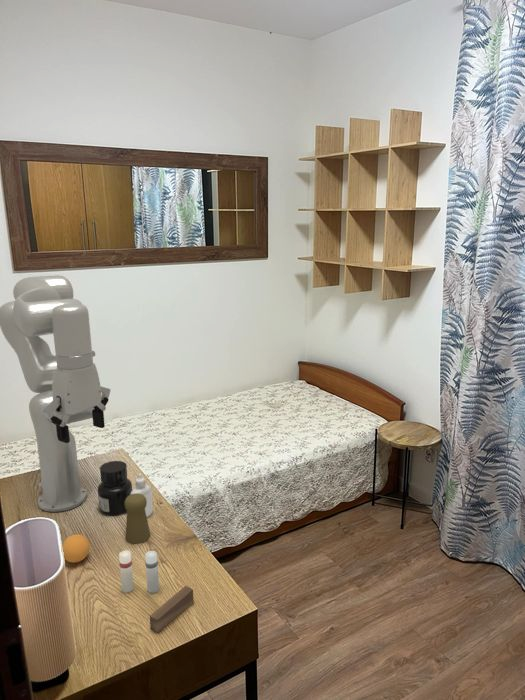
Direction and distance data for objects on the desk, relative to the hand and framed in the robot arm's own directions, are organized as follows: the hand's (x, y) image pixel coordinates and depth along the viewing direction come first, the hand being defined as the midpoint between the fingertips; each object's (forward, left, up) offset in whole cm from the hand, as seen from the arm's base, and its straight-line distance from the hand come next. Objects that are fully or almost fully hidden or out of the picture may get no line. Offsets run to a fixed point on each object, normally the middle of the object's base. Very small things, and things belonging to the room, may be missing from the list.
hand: (82, 433), depth 118 cm
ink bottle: (-8, +14, -29) cm, 33 cm away
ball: (+2, -6, -25) cm, 26 cm away
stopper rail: (+32, -6, -28) cm, 43 cm away
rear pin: (+24, -3, -28) cm, 37 cm away
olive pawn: (+7, +8, -29) cm, 31 cm away
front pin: (+19, -6, -28) cm, 35 cm away
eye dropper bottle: (+1, +15, -29) cm, 32 cm away
